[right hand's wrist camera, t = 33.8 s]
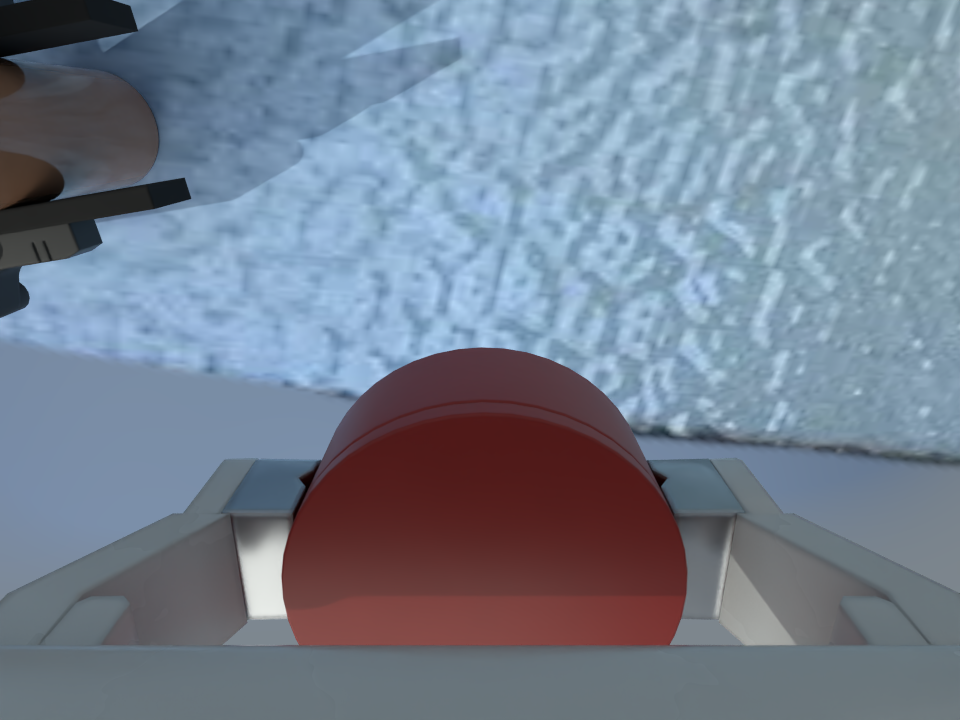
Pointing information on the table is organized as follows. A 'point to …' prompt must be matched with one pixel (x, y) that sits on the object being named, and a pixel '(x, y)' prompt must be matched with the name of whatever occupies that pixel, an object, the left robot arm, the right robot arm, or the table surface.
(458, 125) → the table surface
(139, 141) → the brown bottle
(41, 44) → the left robot arm
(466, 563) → the lid
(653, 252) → the table surface
